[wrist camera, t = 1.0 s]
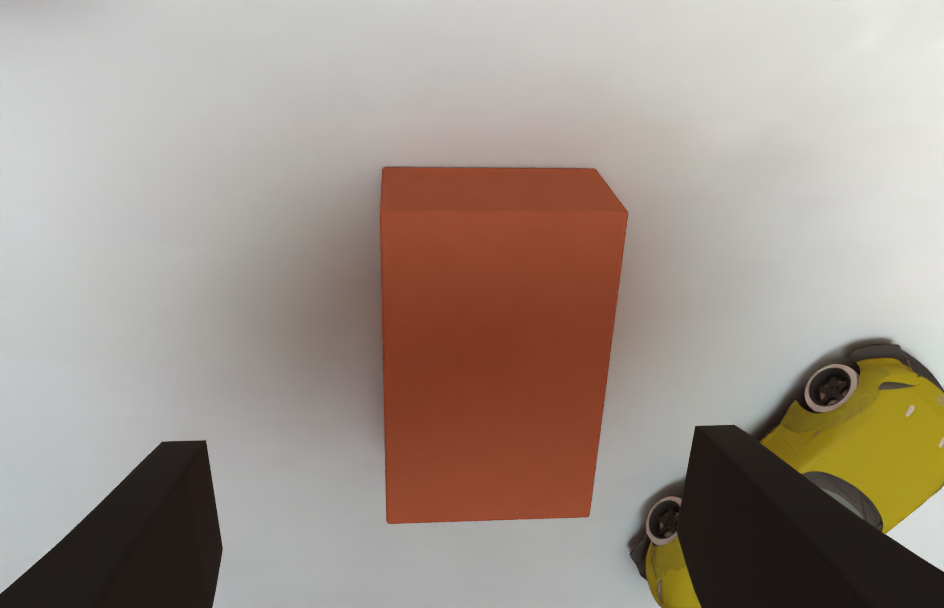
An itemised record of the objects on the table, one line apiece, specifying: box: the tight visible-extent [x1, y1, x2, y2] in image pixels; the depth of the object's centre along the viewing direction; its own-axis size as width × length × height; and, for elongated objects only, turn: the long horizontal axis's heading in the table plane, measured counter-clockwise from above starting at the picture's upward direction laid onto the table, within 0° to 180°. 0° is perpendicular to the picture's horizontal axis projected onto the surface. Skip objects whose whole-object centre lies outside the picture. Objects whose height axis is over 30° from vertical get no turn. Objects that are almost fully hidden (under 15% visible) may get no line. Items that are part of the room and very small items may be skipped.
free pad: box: [380, 167, 628, 524], centre depth 19 cm, size 5×8×3 cm, turn 178°
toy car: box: [630, 344, 944, 608], centre depth 22 cm, size 5×10×3 cm, turn 138°
